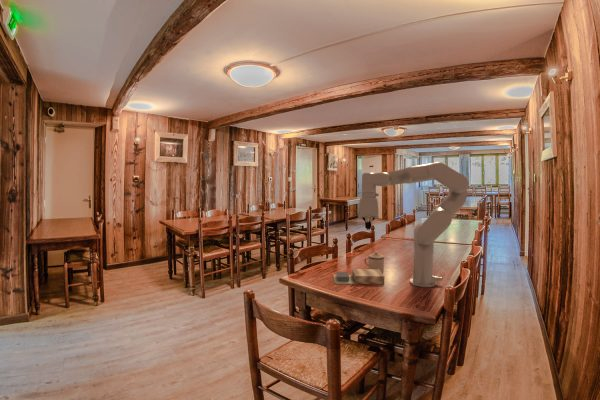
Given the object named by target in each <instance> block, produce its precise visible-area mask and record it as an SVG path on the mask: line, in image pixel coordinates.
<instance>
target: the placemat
mask: <svg viewBox="0 0 600 400" xmlns="http://www.w3.org/2000/svg"><path fill="white" fill-rule="evenodd" d="M332 275H333V280H334V281H333V282H334V284H335V285H355V282H354V279H353V277H352V274H348V275H349V281H337V277H336V273H335V274H334V273H333V274H332Z"/></svg>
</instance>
